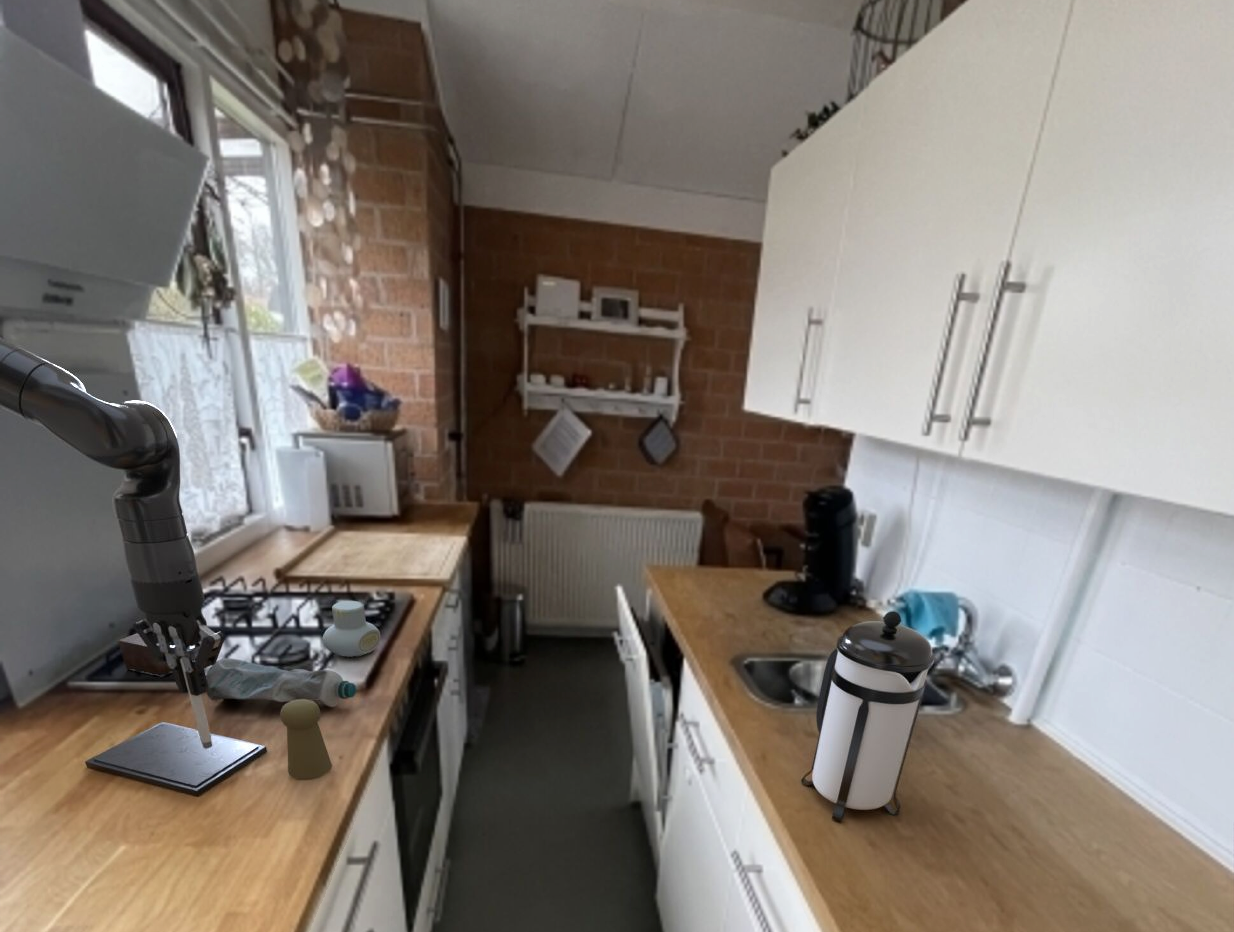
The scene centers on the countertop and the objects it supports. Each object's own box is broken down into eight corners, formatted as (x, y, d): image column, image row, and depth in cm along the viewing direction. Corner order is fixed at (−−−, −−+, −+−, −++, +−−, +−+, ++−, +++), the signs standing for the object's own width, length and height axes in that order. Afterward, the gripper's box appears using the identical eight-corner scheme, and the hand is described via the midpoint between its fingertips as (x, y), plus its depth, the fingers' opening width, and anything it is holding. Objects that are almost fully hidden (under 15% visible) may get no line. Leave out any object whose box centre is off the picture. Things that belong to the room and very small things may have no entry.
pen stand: (126, 670, 130) (117, 640, 127) (165, 654, 137) (157, 625, 134) (162, 678, 128) (153, 647, 125) (199, 661, 135) (192, 632, 132)
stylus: (200, 747, 101) (177, 659, 95) (207, 743, 103) (186, 655, 96) (207, 749, 101) (185, 661, 95) (215, 745, 102) (194, 657, 96)
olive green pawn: (340, 766, 106) (330, 701, 101) (305, 784, 101) (293, 717, 96) (314, 753, 108) (303, 690, 103) (279, 770, 104) (265, 705, 99)
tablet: (86, 767, 102) (83, 760, 101) (164, 726, 113) (162, 720, 112) (198, 796, 97) (196, 789, 96) (267, 751, 108) (266, 745, 108)
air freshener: (354, 639, 149) (348, 594, 144) (387, 646, 147) (382, 600, 142) (318, 657, 140) (310, 610, 135) (353, 665, 137) (346, 617, 133)
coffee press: (913, 790, 110) (966, 609, 96) (882, 841, 98) (938, 641, 84) (808, 753, 118) (844, 581, 104) (769, 795, 106) (803, 607, 92)
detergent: (194, 709, 118) (333, 726, 115) (186, 669, 115) (328, 685, 112) (245, 683, 130) (372, 697, 127) (239, 646, 127) (368, 659, 124)
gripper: (94, 571, 88) (131, 694, 96) (182, 587, 85) (212, 713, 93) (147, 556, 94) (177, 673, 102) (230, 571, 91) (254, 690, 99)
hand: (194, 691), depth 98 cm, fingers closed on stylus, 1 cm apart
